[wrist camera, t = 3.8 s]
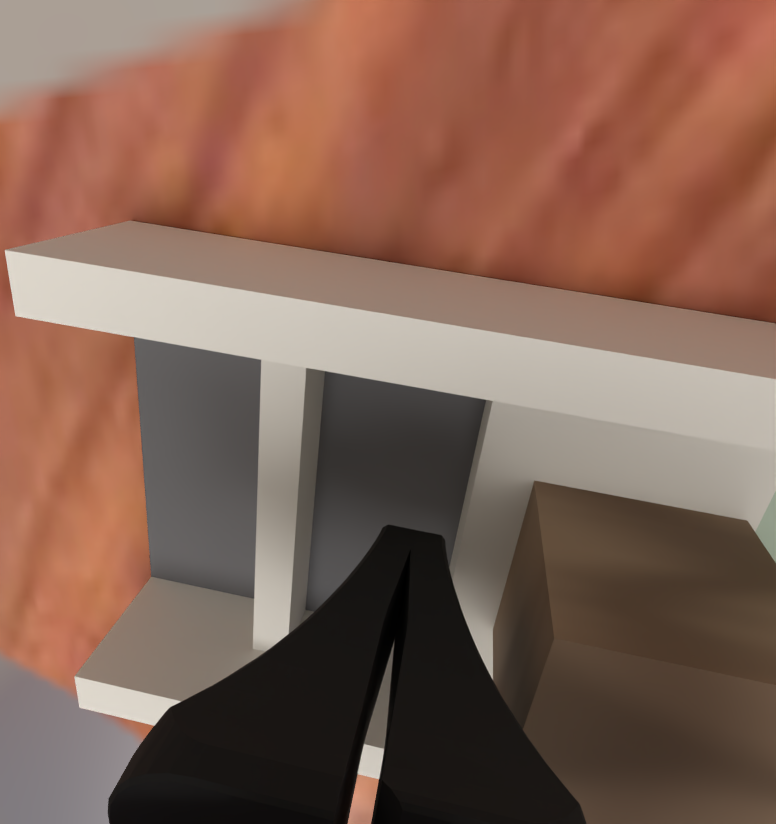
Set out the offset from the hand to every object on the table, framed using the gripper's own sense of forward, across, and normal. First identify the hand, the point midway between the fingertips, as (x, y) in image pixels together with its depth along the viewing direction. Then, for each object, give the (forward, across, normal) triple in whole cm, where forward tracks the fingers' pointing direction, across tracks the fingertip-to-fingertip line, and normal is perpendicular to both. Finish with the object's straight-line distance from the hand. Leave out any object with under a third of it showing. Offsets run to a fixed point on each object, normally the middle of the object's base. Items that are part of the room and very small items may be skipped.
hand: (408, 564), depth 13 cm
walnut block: (+1, -5, 0) cm, 5 cm away
